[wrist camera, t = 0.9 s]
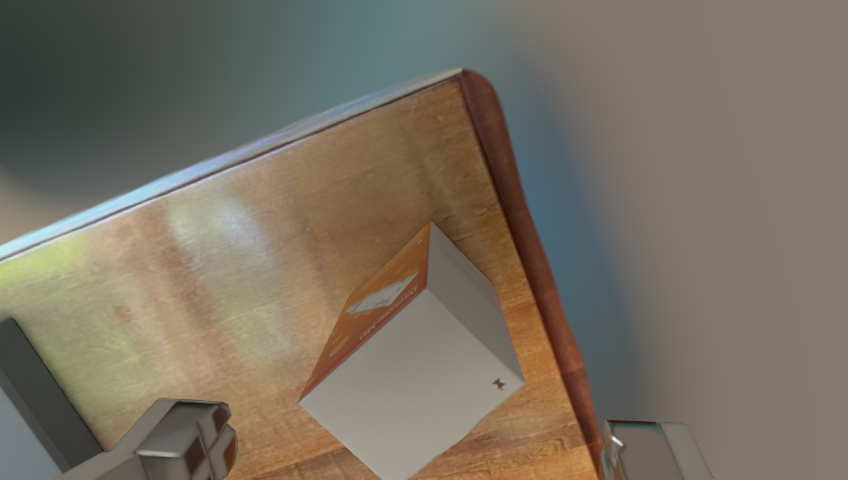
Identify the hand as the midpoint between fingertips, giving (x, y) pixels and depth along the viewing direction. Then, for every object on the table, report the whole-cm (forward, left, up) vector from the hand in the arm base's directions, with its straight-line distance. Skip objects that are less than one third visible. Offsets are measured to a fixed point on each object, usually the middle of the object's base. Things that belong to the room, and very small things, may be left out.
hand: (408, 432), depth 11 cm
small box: (+4, -2, -23) cm, 23 cm away
